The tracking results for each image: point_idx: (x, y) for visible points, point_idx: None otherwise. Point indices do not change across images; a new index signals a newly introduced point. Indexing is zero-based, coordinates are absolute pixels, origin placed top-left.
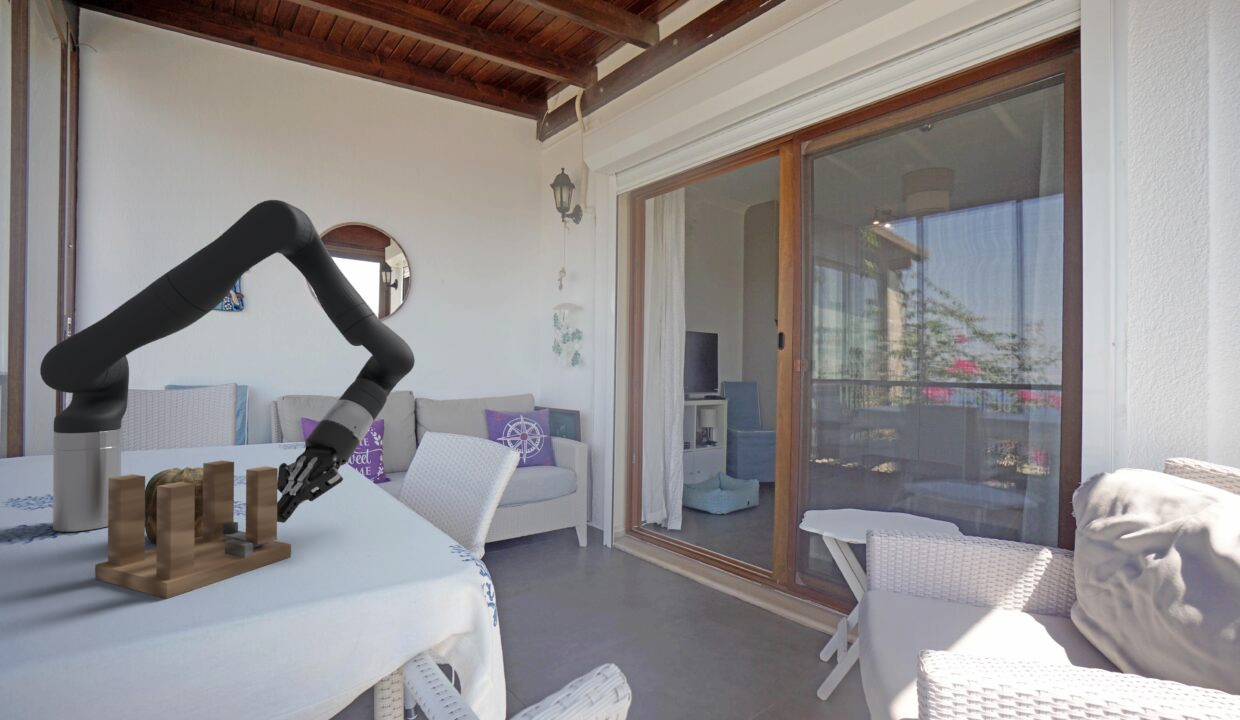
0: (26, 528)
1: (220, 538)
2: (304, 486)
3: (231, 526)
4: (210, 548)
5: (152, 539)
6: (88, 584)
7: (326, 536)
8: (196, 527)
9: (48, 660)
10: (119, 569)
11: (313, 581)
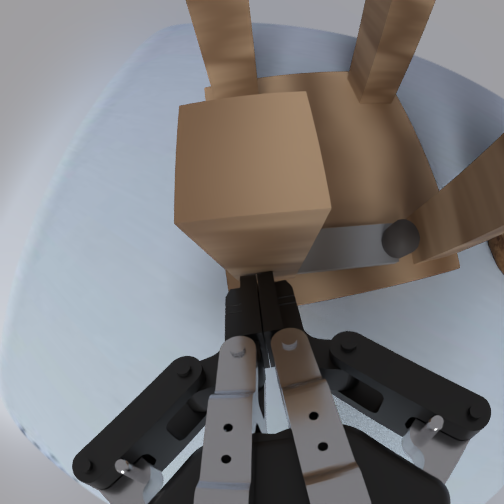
0: None
1: None
2: (191, 384)
3: (389, 231)
4: (350, 188)
5: None
6: None
7: None
8: (499, 240)
9: (156, 37)
10: (333, 74)
11: (87, 260)
